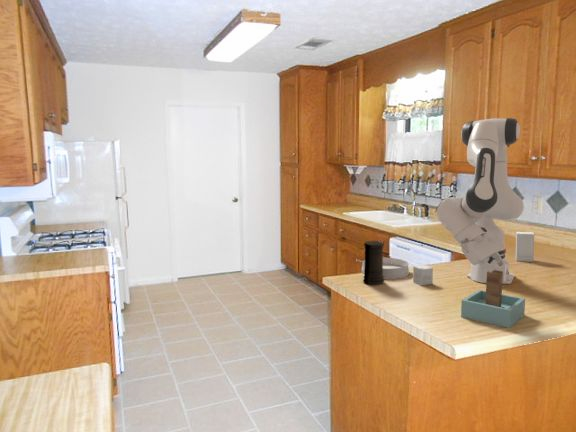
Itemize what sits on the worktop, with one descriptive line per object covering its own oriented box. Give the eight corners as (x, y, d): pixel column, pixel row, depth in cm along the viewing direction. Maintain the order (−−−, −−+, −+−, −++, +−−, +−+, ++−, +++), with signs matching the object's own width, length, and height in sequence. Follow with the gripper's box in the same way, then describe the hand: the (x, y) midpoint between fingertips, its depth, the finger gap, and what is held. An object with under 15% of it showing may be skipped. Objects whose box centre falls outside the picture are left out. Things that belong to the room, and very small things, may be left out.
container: (384, 280, 205) (385, 241, 203) (383, 286, 197) (383, 245, 194) (364, 279, 208) (364, 240, 205) (362, 284, 199) (362, 244, 197)
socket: (478, 305, 171) (479, 289, 170) (524, 314, 160) (525, 298, 159) (461, 316, 159) (461, 300, 159) (509, 328, 149) (510, 310, 148)
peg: (488, 312, 163) (491, 269, 160) (500, 315, 160) (503, 271, 158) (484, 316, 160) (486, 271, 158) (496, 318, 157) (499, 273, 155)
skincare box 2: (532, 259, 238) (534, 231, 236) (533, 262, 233) (535, 233, 231) (514, 258, 241) (516, 231, 239) (515, 261, 236) (516, 233, 234)
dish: (383, 264, 234) (383, 255, 233) (418, 273, 216) (418, 263, 216) (352, 272, 221) (352, 262, 220) (387, 282, 203) (387, 271, 203)
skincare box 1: (424, 280, 204) (424, 264, 203) (432, 284, 198) (433, 267, 197) (412, 282, 202) (413, 266, 201) (421, 285, 196) (421, 269, 195)
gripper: (464, 236, 153) (493, 269, 148) (487, 227, 168) (514, 256, 162) (451, 247, 157) (479, 280, 152) (474, 237, 171) (500, 266, 166)
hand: (497, 267), depth 157 cm, fingers open, 8 cm apart
